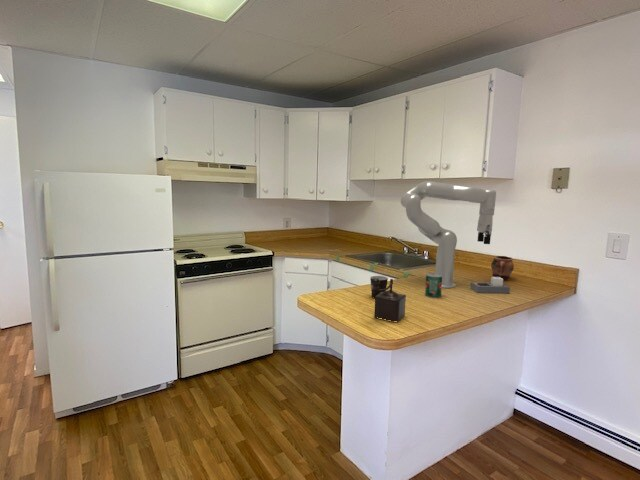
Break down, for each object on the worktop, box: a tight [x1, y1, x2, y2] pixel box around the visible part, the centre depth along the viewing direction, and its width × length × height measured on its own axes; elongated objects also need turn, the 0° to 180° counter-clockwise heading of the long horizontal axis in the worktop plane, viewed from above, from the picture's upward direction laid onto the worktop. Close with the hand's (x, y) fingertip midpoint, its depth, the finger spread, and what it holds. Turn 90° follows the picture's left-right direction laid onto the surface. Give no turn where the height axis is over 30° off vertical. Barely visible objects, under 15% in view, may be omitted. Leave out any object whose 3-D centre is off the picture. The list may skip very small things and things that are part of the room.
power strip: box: [469, 281, 511, 295], centre depth 198 cm, size 17×16×4 cm
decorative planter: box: [490, 255, 514, 281], centre depth 219 cm, size 20×12×14 cm, turn 155°
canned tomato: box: [424, 272, 442, 299], centre depth 184 cm, size 8×8×11 cm
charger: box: [490, 276, 504, 286], centre depth 194 cm, size 4×4×7 cm
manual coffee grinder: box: [370, 278, 407, 322], centre depth 150 cm, size 16×11×18 cm
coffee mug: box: [369, 275, 389, 299], centre depth 181 cm, size 12×9×10 cm
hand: (483, 242), depth 202 cm, fingers open, 9 cm apart
